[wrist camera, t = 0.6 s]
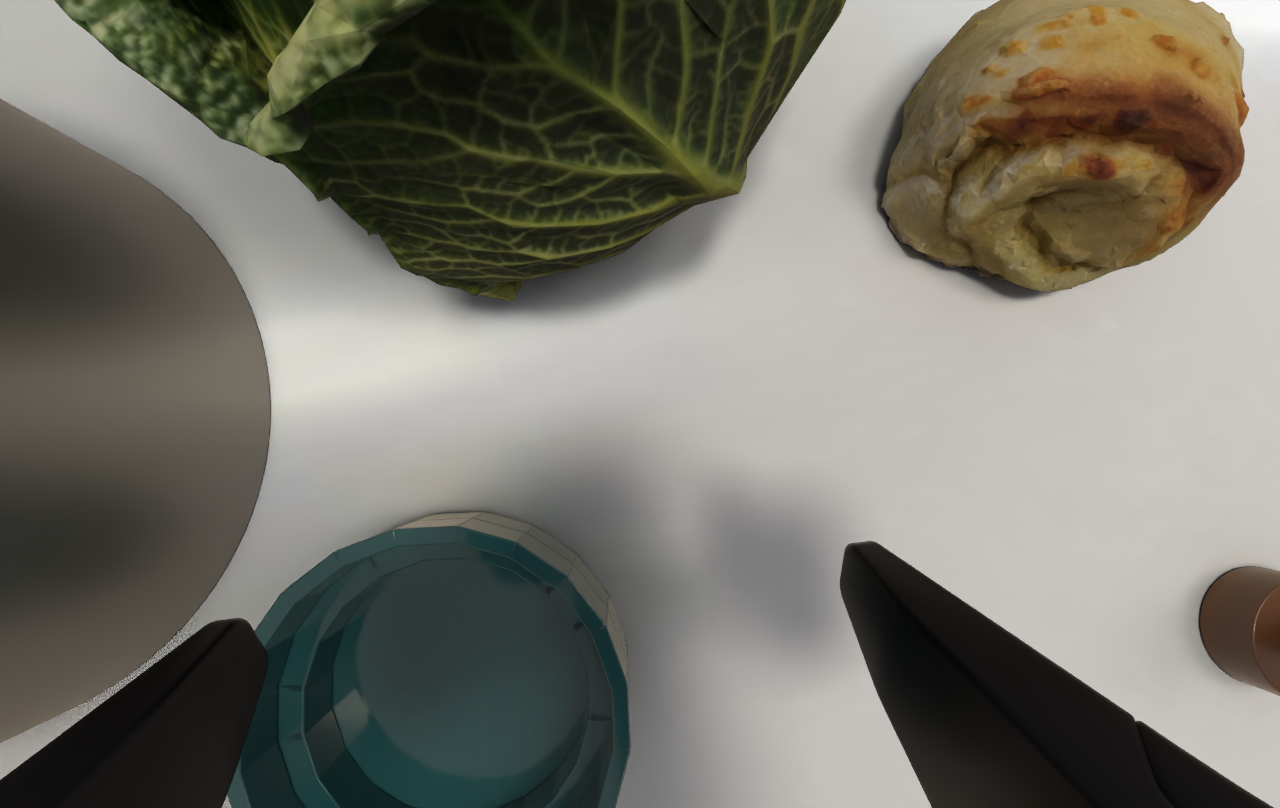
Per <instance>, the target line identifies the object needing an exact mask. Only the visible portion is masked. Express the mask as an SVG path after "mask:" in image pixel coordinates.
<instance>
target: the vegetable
mask: <svg viewBox="0 0 1280 808" xmlns="http://www.w3.org/2000/svg"><path fill="white" fill-rule="evenodd" d="M55 2H56V3H57V4H58V5H59V6H60V7H61V8H62V9H63V11H64V12H65V13H66V14H67V15H68V16H69V17H70V18H71V19H72V20H73V21H74V22H76V23H77V24H78V25H80V26H81V27H82V28H84V29H85V30H86V31H87V32H89V33H90V34H91V35H93V36H94V37H95V38H96V39H97V40H98V41H99V42H100V43H101V44H102V45H103V46H104V47H105V48H106V49H107V50H109V51H110V52H111V53H112V54H113V55H114V56H115V57H116V58H117V59H118V60H119V61H120V62H122V63H123V64H125V65H126V66H128V67H129V68H131V69H132V70H134V71H135V72H137V73H138V74H140V75H141V76H143V77H144V78H145V79H147V80H148V81H149V82H151V83H152V84H153V85H155V86H156V87H157V88H159V89H160V90H161V91H163V92H164V93H165V94H166V95H168V96H169V97H170V98H172V99H173V100H174V101H176V102H177V103H178V104H180V105H181V106H182V107H183V108H185V109H186V110H187V111H189V112H190V113H191V114H193V115H194V116H195V117H197V118H198V119H199V120H201V121H202V122H203V123H204V124H205V125H206V126H207V127H208V128H210V129H211V130H212V131H213V132H214V133H215V134H216V135H217V136H218V137H219V138H221V139H224V140H227V141H230V142H233V143H236V144H239V145H242V146H245V147H247V148H249V149H251V150H253V151H255V152H256V153H258V154H259V155H261V156H262V157H263V156H264V157H266V158H268V159H270V160H272V161H274V162H277V163H281V164H284V165H285V166H286V167H287V168H288V169H289V170H290V171H291V172H292V173H293V174H294V175H295V176H296V177H297V178H298V179H299V180H300V181H301V182H302V183H303V184H304V185H305V186H306V187H307V188H308V189H309V190H310V191H311V192H312V193H313V194H314V196H315V198H316V199H317V201H321V200H323V199H326V198H329V197H331V198H332V199H333V200H334V201H335V202H336V203H337V204H338V205H339V206H340V207H341V208H342V209H343V210H344V211H345V212H346V213H347V214H348V215H349V216H350V217H351V218H353V219H354V220H355V221H356V222H357V223H358V224H359V225H361V226H362V227H363V228H364V229H365V230H366V231H367V232H368V235H371V234H376V233H379V235H380V236H381V238H382V240H383V241H384V243H385V244H386V246H387V247H388V249H389V250H390V252H391V253H392V255H393V256H394V258H395V259H396V261H397V262H398V264H399V265H400V267H401V268H403V269H405V270H407V271H409V272H411V273H413V274H415V275H420V276H424V277H426V278H428V279H430V280H432V281H434V282H435V283H437V284H439V285H443V286H449V287H455V288H459V289H462V290H464V291H466V292H468V293H471V294H473V295H478V294H480V295H482V296H486V297H491V298H497V299H503V300H509V301H515V297H516V291H518V290H519V289H520V288H521V283H522V280H525V279H532V278H537V277H540V276H545V275H550V274H555V273H559V272H563V271H568V270H572V269H576V268H579V267H582V266H585V265H588V264H591V263H594V262H597V261H600V260H602V259H605V258H608V257H611V256H614V255H617V254H620V253H623V252H625V251H626V250H627V249H628V248H630V247H631V246H632V245H634V244H635V243H636V242H638V241H639V240H640V239H642V238H643V237H644V236H646V235H647V234H648V233H650V232H651V231H652V230H654V229H655V228H657V227H658V226H660V225H662V224H663V223H665V222H667V221H668V220H670V219H672V218H674V217H675V216H677V215H679V214H680V213H682V212H684V211H686V210H687V209H689V208H691V207H692V206H695V205H698V204H702V203H705V202H709V201H713V200H716V199H720V198H724V197H727V196H731V195H735V194H738V193H739V192H740V190H741V188H742V185H743V183H744V180H745V178H746V169H747V157H748V156H749V154H750V153H751V151H752V150H753V148H754V146H755V145H756V143H757V142H758V140H759V139H760V137H761V135H762V134H763V132H764V131H765V129H766V127H767V126H768V124H769V123H770V121H771V120H772V118H773V116H774V115H775V113H776V112H777V110H778V109H779V107H780V105H781V104H782V102H783V101H784V99H785V98H786V96H787V94H788V93H789V91H790V90H791V88H792V87H793V85H794V84H795V82H796V81H797V79H798V78H799V76H800V75H801V73H802V72H803V70H804V69H805V67H806V65H807V64H808V62H809V61H810V59H811V58H812V56H813V55H814V53H815V52H816V50H817V49H818V47H819V46H820V44H821V43H822V41H823V39H824V38H825V36H826V35H827V33H828V32H829V30H830V29H831V27H832V26H833V24H834V23H835V21H836V20H837V18H838V17H839V15H840V13H841V11H842V9H843V6H844V4H845V2H846V0H55Z"/></svg>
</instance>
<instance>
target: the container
mask: <svg viewBox="0 0 1280 808" xmlns="http://www.w3.org/2000/svg"><path fill="white" fill-rule="evenodd" d="M269 431H270V389H269V379H268V371H267V364H266V359H265V354H264V349H263V345H262V341H261V337H260V333H259V330H258V327H257V324H256V321H255V318H254V315H253V312H252V310H251V307H250V305H249V302H248V300H247V298H246V296H245V293H244V291H243V289H242V287H241V285H240V283H239V281H238V280H237V278H236V276H235V274H234V272H233V271H232V269H231V267H230V266H229V264H228V263H227V261H226V260H225V258H224V256H223V255H222V253H221V252H220V251H219V249H218V248H217V247H216V245H215V244H214V243H213V241H212V240H211V239H210V238H209V237H208V235H207V234H206V233H205V232H204V231H203V229H202V228H201V227H200V226H199V225H198V224H197V223H196V222H195V221H194V220H193V219H192V218H191V217H190V216H189V215H188V214H187V213H186V212H185V211H184V210H183V209H182V208H181V207H180V206H178V205H177V204H176V203H175V202H174V201H173V200H171V199H170V198H169V197H168V196H166V195H165V194H164V193H163V192H161V191H160V190H159V189H157V188H156V187H154V186H153V185H151V184H150V183H149V182H147V181H145V180H144V179H142V178H141V177H139V176H137V175H136V174H134V173H132V172H131V171H129V170H127V169H125V168H123V167H122V166H120V165H118V164H116V163H115V162H113V161H111V160H109V159H107V158H106V157H104V156H102V155H100V154H98V153H97V152H95V151H93V150H91V149H89V148H88V147H86V146H84V145H82V144H80V143H79V142H77V141H75V140H73V139H72V138H70V137H68V136H66V135H64V134H63V133H61V132H59V131H57V130H55V129H54V128H52V127H50V126H48V125H46V124H45V123H43V122H41V121H39V120H37V119H36V118H34V117H32V116H30V115H29V114H27V113H25V112H23V111H21V110H20V109H18V108H16V107H14V106H12V105H11V104H9V103H7V102H5V101H3V100H2V99H0V743H1V742H3V741H5V740H7V739H9V738H11V737H13V736H16V735H18V734H20V733H22V732H24V731H26V730H28V729H30V728H32V727H34V726H36V725H38V724H40V723H43V722H45V721H47V720H49V719H51V718H53V717H55V716H57V715H59V714H61V713H63V712H65V711H67V710H70V709H72V708H74V707H76V706H78V705H80V704H82V703H84V702H85V701H87V700H89V699H91V698H93V697H95V696H96V695H98V694H100V693H102V692H103V691H105V690H106V689H108V688H110V687H111V686H113V685H114V684H116V683H117V682H119V681H120V680H122V679H123V678H125V677H126V676H127V675H129V674H130V673H132V672H133V671H134V670H136V669H137V668H138V667H139V666H141V665H142V664H143V663H145V662H146V661H147V660H148V659H150V658H151V657H152V656H153V655H154V654H155V653H156V652H157V651H159V650H160V649H161V648H162V647H163V646H164V645H165V644H166V643H167V642H168V641H169V640H170V639H171V638H172V637H173V636H174V635H175V634H176V633H177V632H178V631H179V630H180V629H181V628H182V627H183V626H184V625H185V624H186V622H187V621H188V620H189V619H190V618H191V617H192V616H193V614H194V613H195V612H196V611H197V609H198V608H199V607H200V606H201V604H202V603H203V602H204V601H205V599H206V598H207V596H208V595H209V594H210V592H211V591H212V589H213V588H214V587H215V585H216V584H217V582H218V580H219V579H220V577H221V576H222V574H223V572H224V571H225V569H226V568H227V566H228V564H229V562H230V560H231V559H232V557H233V555H234V553H235V551H236V549H237V547H238V545H239V543H240V541H241V539H242V537H243V534H244V532H245V530H246V527H247V525H248V522H249V520H250V517H251V515H252V512H253V509H254V506H255V503H256V500H257V497H258V493H259V489H260V486H261V482H262V478H263V473H264V468H265V463H266V457H267V450H268V443H269Z"/></svg>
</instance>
